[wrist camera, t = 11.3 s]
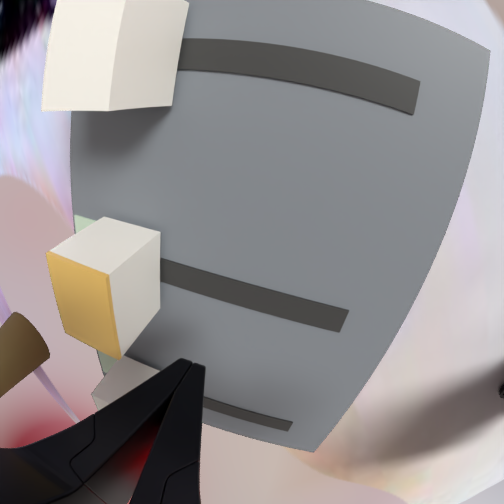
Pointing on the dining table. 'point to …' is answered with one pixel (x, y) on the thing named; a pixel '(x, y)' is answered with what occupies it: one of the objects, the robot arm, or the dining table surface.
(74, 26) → the block
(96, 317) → the block
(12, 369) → the cork
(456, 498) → the dining table surface
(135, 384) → the block
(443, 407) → the dining table surface
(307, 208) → the panel
